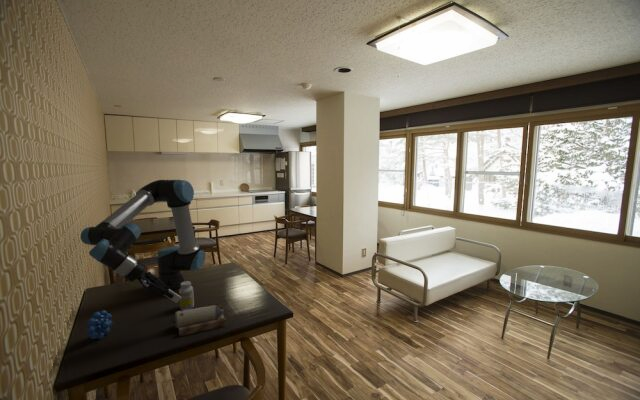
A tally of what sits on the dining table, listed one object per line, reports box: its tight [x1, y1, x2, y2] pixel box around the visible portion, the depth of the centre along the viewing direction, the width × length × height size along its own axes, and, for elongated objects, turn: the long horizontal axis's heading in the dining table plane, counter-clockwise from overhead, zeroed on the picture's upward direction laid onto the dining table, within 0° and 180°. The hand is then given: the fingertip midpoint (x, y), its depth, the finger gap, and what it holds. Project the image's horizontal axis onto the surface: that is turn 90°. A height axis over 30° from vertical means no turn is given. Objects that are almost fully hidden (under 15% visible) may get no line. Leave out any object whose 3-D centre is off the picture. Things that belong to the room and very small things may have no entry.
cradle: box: [178, 304, 228, 337], centre depth 131 cm, size 19×16×3 cm
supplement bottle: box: [178, 280, 195, 311], centre depth 144 cm, size 7×7×13 cm
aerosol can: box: [174, 304, 225, 329], centre depth 129 cm, size 7×7×20 cm
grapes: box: [85, 309, 114, 340], centre depth 118 cm, size 12×7×12 cm, turn 175°
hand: (178, 299), depth 125 cm, fingers closed
